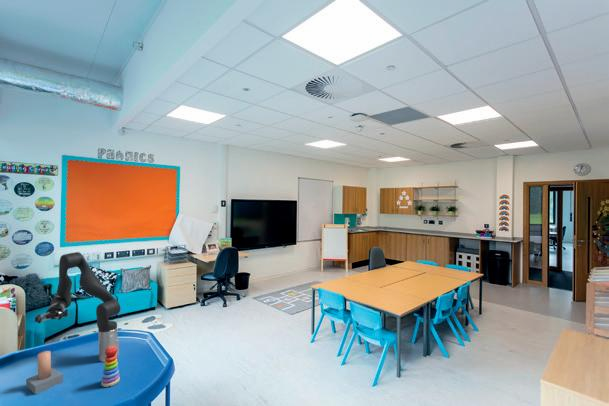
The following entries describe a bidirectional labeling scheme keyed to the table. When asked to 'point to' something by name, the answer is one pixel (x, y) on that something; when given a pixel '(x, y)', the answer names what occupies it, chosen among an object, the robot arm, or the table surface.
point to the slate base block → (44, 382)
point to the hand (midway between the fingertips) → (49, 320)
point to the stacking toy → (110, 368)
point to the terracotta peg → (44, 365)
